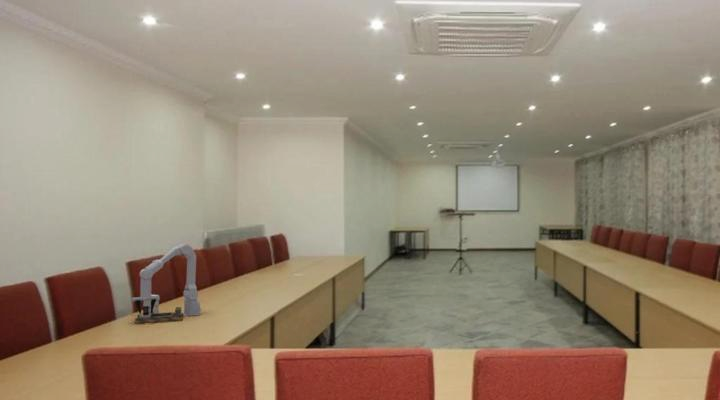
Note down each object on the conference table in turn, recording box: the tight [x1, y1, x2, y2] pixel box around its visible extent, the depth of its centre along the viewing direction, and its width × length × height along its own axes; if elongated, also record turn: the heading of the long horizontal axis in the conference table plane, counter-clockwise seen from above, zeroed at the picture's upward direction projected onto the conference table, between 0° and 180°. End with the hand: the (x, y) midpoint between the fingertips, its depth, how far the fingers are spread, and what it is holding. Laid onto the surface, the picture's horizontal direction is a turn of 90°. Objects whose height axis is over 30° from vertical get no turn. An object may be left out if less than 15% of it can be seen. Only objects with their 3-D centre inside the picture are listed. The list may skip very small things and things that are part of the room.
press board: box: [134, 306, 184, 325], centre depth 265 cm, size 25×13×6 cm, turn 108°
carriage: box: [139, 306, 154, 318], centre depth 263 cm, size 7×7×7 cm
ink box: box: [142, 294, 160, 314], centre depth 278 cm, size 9×5×12 cm, turn 168°
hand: (145, 313), depth 263 cm, fingers open, 5 cm apart
